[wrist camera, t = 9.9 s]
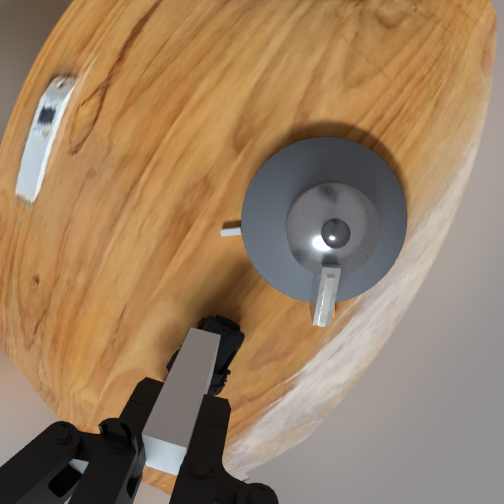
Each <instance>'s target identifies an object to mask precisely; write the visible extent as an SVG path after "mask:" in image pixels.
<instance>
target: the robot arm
mask: <svg viewBox="0 0 504 504" xmlns="http://www.w3.org/2000/svg"><path fill="white" fill-rule="evenodd" d="M220 336H221V335H218V334H215V333H211V332H207V331H203V330H199V329H195V328H192V327H191V328H190V330H189V332H188V334H187V336H186V338H185V341H184V343H183V345H182V347H181V349H180V351H179V353H178V355H177V358H176V360H175V362H174V364H173V366H172V368H171V370H170V372H169V375H168V377H167V379H166V381H165V383H163V382H160V381H157V380H154V379H151V378H148V377H146V378H145V379H143V380H142V381H140V382H139V383H138V384H137V386H136V387H135V389H134V391H133V394H132V395H131V396H130V398H129V401H128V402H127V404H126V406H125V407H124V409H123V411H122V413H121V415H120V417H119V418H108V419H106V420H103V421H102V422H101V423H100V424H99V425H98V427H99V430H100V433H101V434H93V433H87V432H81V431H78V430H77V428H76V427H75V426H74V425H72V424H71V423H69V422H65V421H58V422H55V423H53V424H51V425H50V426H49V427H48V428H46V429H45V430H44V431H43V432H42V433H41V434H39V435H38V436H37V437H36V438H35V439H34V440H32V441H31V442H30V443H29V444H27V445H26V446H25V447H24V448H23V449H22V450H20V451H19V452H18V453H17V454H16V455H15V456H13V457H12V458H11V459H10V460H9V461H7V462H6V463H5V464H4V465H3V466H1V467H0V504H64V502H65V501H67V500H68V498H69V497H70V496H71V495H72V496H71V498H70V500H69V502H68V504H133V501H134V498H135V496H136V493H137V490H138V487H139V485H140V482H141V480H142V475H143V472H142V470H143V467H144V465H145V462H146V466H149V467H151V468H154V469H157V470H161V471H164V472H167V473H170V474H174V475H177V479H176V482H175V485H174V489H173V492H172V495H171V499H170V502H169V504H279V503H278V499H277V496H276V494H275V492H274V490H272V489H271V488H270V487H269V486H267V485H264V484H262V483H251V484H247V483H245V482H243V481H240V480H238V479H236V478H234V477H233V476H231V475H230V474H229V473H228V472H226V470H225V469H224V467H223V464H222V455H223V450H224V445H225V439H226V434H227V428H228V423H229V418H230V412H231V408H230V405H229V402H228V399H224V398H220V397H216V396H212V395H208V394H207V392H208V389H209V385H210V382H211V378H212V375H213V370H214V365H215V361H216V356H217V351H218V346H219V341H220Z"/></svg>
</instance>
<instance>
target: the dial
mask: <svg viewBox="0 0 504 504" xmlns="http://www.w3.org/2000/svg"><path fill="white" fill-rule="evenodd" d="M379 233H380V224H379V218H378V215H377V212H376V210H375V207H374V206H373V204H372V203H371V201H370V200H369V199H368V198H367V197H366V196H365V195H364V194H363V193H362V192H360V191H359V190H357V189H355V188H353V187H351V186H348V185H346V184H343V183H339V182H332V181H327V182H320V183H316V184H314V185H311V186H309V187H307V188H306V189H304V190H303V191H302V192H301V193H300V194H299V195H297V197H296V198H295V199H294V200H293V202H292V204H291V206H290V208H289V210H288V213H287V217H286V235H287V241H288V245H289V248H290V251H291V253H292V255H293V257H294V258H295V259H296V261H297V262H298V263H299V264H300V265H301V266H302V267H303V268H304V269H306V270H307V271H309V272H311V273H313V274H315V275H314V281H313V288H312V294H311V300H310V306H309V308H310V314H311V319H312V324H313V325H318V326H319V327H325V325H328V326H330V322H331V318H332V313H333V308H334V303H335V299H336V293H337V288H338V283H339V278H340V276H344V275H347V274H350V273H352V272H354V271H356V270H357V269H359V268H360V267H362V266H363V265H364V264H365V263H366V262H367V261H368V260H369V258H370V257H371V256H372V254H373V252H374V250H375V248H376V246H377V243H378V239H379Z"/></svg>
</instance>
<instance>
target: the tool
mask: <svg viewBox="0 0 504 504" xmlns="http://www.w3.org/2000/svg"><path fill="white" fill-rule="evenodd" d="M196 329H199V330H203V331H207V332H211V333H215V334H218V335H221V336H220V341H219V346H218V351H217V356H216V361H215V365H214V370H213V375H212V378H211V382H210V385H209V389H208V392H207V394H208V395H212V396H214V395H218V394H219V393H220V392H221V391H222V389H223V387H224V386H225V384H224V382H227V379H226V378H227V375H230V373H231V371H230V370H228V369H227V368H228V366H229V365H230V363H231V361H232V360H233V358H234V356H235V355H236V353H237V351H238V350H239V348H240V347H241V345H242V342H243V341H244V338H245V335H244V333H242V332H241V331H239V330H240V326H239V325H238V324H236V323H235V322H233V321H231V320H229V319H227V318H225V317H223V316H220V315H216V318H214V317H212V316H210V315H209V317H208V319H205V318H202V320H201V321H200V322H199V324H198V326H197V328H196ZM181 347H182V345H181V346H180V348H181ZM179 351H180V349H179V350H177V351H176V352H175V353H174V355H173V356H172V358H171V360H170V361H169V363H168V365H167V369H168V371H169V372H170V370H171V368H172V366H173V364H174V362H175V360H176V358H177V355H178V353H179Z"/></svg>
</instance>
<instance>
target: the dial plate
mask: <svg viewBox="0 0 504 504" xmlns="http://www.w3.org/2000/svg"><path fill="white" fill-rule="evenodd" d="M327 181H332V182H339V183H343V184H346V185H348V186H351V187H353V188H355V189H357V190H359V191H360V192H362V193H363V194H364V195H365V196H366V197H367V198H368V199H369V200H370V201H371V203H372V204H373V206H374V207H375V210H376V212H377V215H378V218H379V224H380V233H379V239H378V243H377V246H376V248H375V250H374V252H373V254H372V256H371V257H370V258H369V260H368V261H367V262H366V263H365V264H364V265H363V266H362V267H360V268H359V269H357V270H356V271H354V272H352V273H350V274H347V275H344V276H340V278H339V283H338V288H337V293H336V299H335V302H340V301H344V300H347V299H350V298H353V297H356V296H358V295H360V294H362V293H364V292H365V291H367V290H368V289H370V288H371V287H373V286H374V285H375V284H377V283H378V282H379V281H380V280H381V279H382V278H383V277H384V276H385V275H386V274H387V273H388V271H389V270H390V269H391V267H392V266H393V265H394V263H395V261H396V259H397V258H398V256H399V253H400V251H401V249H402V246H403V243H404V239H405V235H406V229H407V208H406V202H405V197H404V193H403V191H402V188H401V186H400V183H399V181H398V179H397V178H396V176H395V174H394V173H393V171H392V170H391V169H390V167H389V166H388V165H387V164H386V163H385V162H384V160H383V159H382V158H381V157H379V156H378V155H377V154H376V153H374V152H373V151H372V150H370V149H368V148H367V147H365V146H363V145H361V144H359V143H356V142H354V141H351V140H347V139H343V138H338V137H314V138H308V139H304V140H301V141H298V142H295V143H293V144H291V145H289V146H287V147H285V148H283V149H281V150H280V151H279V152H277V153H276V154H274V155H273V156H272V157H271V158H270V159H269V160H267V161H266V162H265V163H264V165H263V166H262V167H261V168H260V169H259V171H258V172H257V173H256V175H255V177H254V178H253V180H252V181H251V183H250V186H249V188H248V190H247V192H246V196H245V199H244V202H243V208H242V214H241V226H240V227H231V228H222V229H221V237H222V236H231V235H241V234H242V237H243V241H244V245H245V249H246V251H247V253H248V256H249V258H250V260H251V262H252V264H253V265H254V267H255V268H256V270H257V271H258V272H259V274H260V275H261V276H262V277H263V278H264V279H265V280H266V281H267V282H268V283H269V284H270V285H271V286H273V287H274V288H275V289H277V290H278V291H280V292H282V293H283V294H285V295H287V296H290V297H292V298H294V299H298V300H301V301H305V302H310V300H311V294H312V288H313V281H314V275H315V274H313V273H311V272H309V271H307V270H306V269H304V268H303V267H302V266H301V265H300V264H299V263H298V262H297V261H296V259H295V258H294V257H293V255H292V253H291V251H290V248H289V245H288V241H287V235H286V217H287V213H288V210H289V208H290V206H291V204H292V202H293V200H294V199H295V198H296V197H297V195H299V194H300V193H301V192H302V191H303V190H304V189H306V188H307V187H309V186H311V185H314V184H316V183H320V182H327ZM241 229H242V230H241ZM332 318H335V303H334V308H333V313H332ZM332 318H331V319H332Z"/></svg>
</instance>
